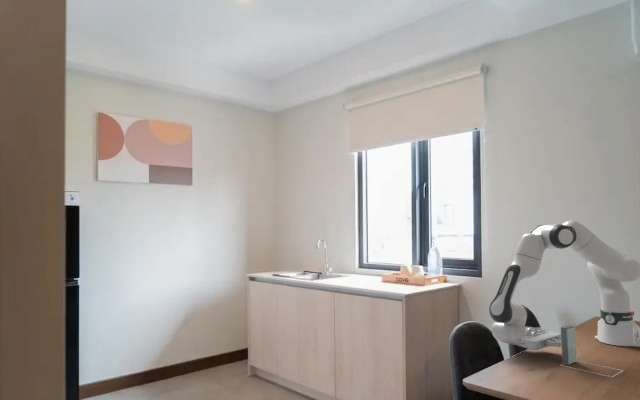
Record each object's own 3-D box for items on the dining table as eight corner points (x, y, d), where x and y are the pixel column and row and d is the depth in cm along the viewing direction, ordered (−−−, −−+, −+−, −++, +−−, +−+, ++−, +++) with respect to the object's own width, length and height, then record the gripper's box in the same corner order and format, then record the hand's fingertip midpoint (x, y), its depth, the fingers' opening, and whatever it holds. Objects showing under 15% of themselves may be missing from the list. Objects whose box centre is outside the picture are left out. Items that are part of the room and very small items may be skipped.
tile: (570, 360, 174) (568, 325, 175) (577, 362, 172) (575, 326, 173) (562, 363, 171) (560, 327, 172) (569, 365, 169) (567, 328, 170)
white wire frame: (571, 359, 175) (623, 370, 161) (571, 360, 175) (623, 372, 161) (559, 364, 169) (612, 376, 155) (559, 366, 169) (612, 378, 155)
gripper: (513, 333, 180) (546, 340, 169) (541, 326, 192) (573, 332, 180) (514, 349, 180) (547, 357, 169) (541, 341, 191) (574, 348, 180)
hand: (561, 344), depth 174 cm, fingers closed
